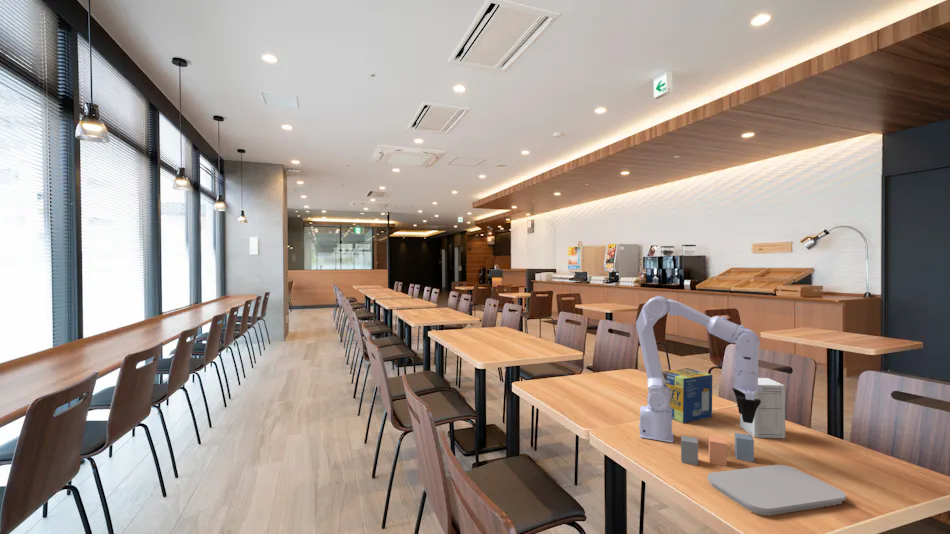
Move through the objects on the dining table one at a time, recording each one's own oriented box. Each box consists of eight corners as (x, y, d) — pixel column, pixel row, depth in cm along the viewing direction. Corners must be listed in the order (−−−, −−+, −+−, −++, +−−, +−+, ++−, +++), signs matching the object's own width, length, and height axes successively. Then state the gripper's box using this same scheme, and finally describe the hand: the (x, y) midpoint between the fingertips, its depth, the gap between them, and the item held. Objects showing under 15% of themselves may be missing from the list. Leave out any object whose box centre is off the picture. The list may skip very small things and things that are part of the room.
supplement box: (769, 428, 141) (769, 377, 141) (786, 439, 132) (786, 385, 132) (738, 426, 142) (738, 376, 142) (754, 437, 133) (754, 384, 133)
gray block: (681, 462, 115) (681, 440, 115) (681, 456, 119) (681, 435, 119) (697, 465, 114) (698, 443, 114) (697, 459, 117) (697, 438, 117)
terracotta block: (709, 463, 115) (709, 441, 115) (708, 457, 119) (708, 436, 119) (726, 466, 113) (726, 443, 114) (725, 460, 117) (725, 438, 117)
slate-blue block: (736, 459, 118) (736, 437, 118) (734, 453, 121) (734, 432, 121) (753, 462, 116) (753, 440, 116) (751, 456, 120) (751, 435, 120)
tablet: (701, 483, 105) (701, 473, 105) (785, 472, 111) (785, 463, 111) (758, 521, 89) (758, 510, 89) (853, 506, 95) (853, 496, 95)
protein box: (658, 414, 154) (658, 371, 154) (687, 408, 161) (687, 367, 161) (683, 423, 145) (683, 378, 145) (713, 417, 151) (713, 374, 151)
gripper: (768, 378, 114) (767, 429, 114) (757, 367, 127) (757, 412, 127) (737, 375, 117) (736, 424, 117) (730, 364, 130) (730, 408, 130)
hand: (745, 418), depth 122 cm, fingers open, 7 cm apart
